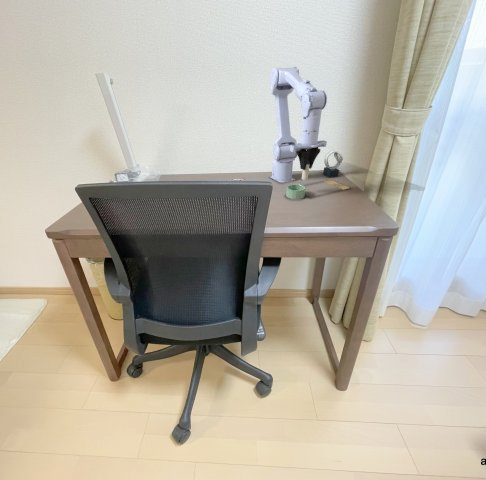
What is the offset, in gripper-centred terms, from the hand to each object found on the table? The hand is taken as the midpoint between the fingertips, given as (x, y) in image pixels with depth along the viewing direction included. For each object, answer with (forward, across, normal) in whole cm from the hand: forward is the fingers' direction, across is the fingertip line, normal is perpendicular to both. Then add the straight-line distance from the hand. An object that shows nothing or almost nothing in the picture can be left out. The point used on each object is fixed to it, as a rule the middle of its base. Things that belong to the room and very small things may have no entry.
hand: (305, 168), depth 98 cm
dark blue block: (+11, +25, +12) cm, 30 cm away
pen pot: (+10, -4, -1) cm, 11 cm away
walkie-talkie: (+11, -19, +16) cm, 27 cm away
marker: (+4, 0, 0) cm, 4 cm away
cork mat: (+10, +10, +1) cm, 14 cm away
